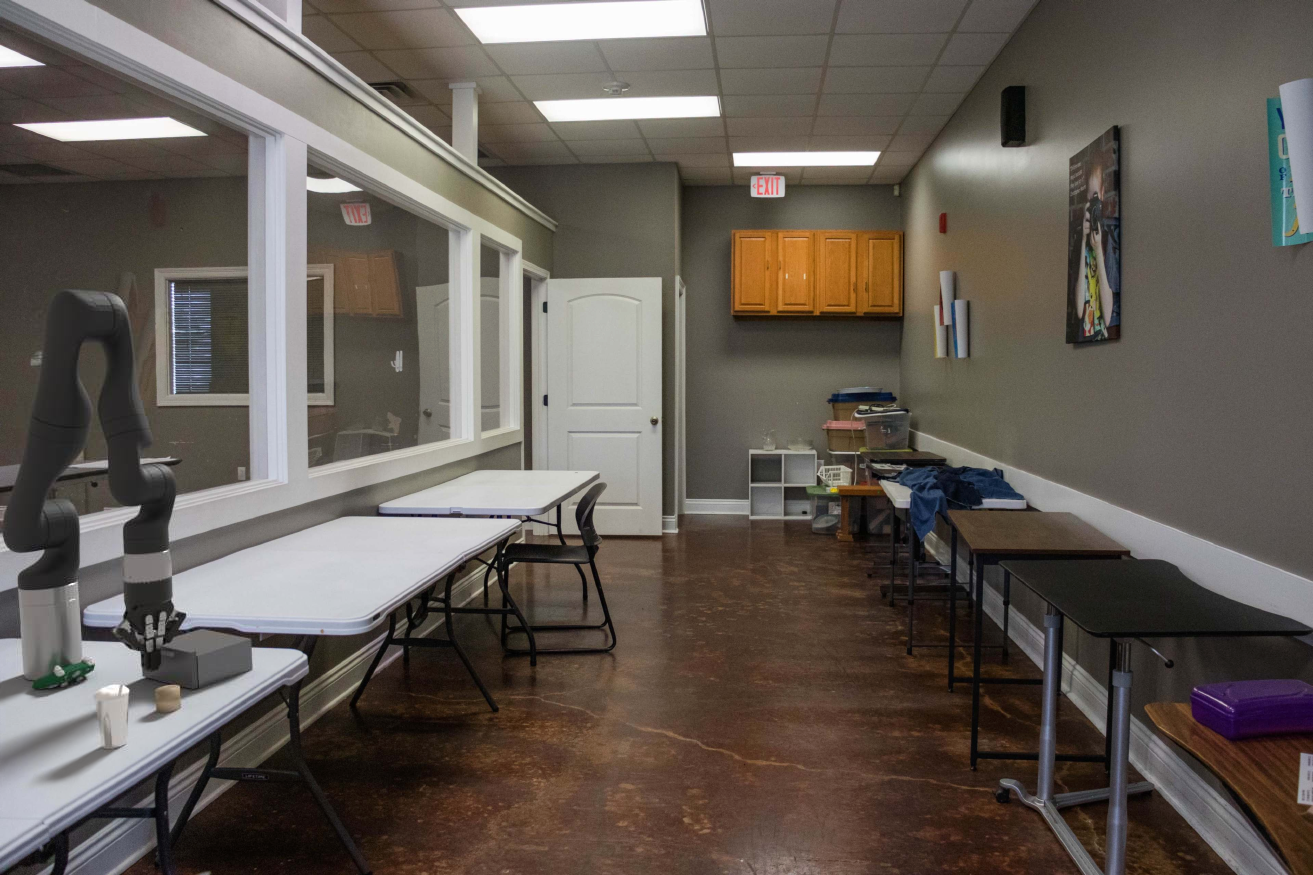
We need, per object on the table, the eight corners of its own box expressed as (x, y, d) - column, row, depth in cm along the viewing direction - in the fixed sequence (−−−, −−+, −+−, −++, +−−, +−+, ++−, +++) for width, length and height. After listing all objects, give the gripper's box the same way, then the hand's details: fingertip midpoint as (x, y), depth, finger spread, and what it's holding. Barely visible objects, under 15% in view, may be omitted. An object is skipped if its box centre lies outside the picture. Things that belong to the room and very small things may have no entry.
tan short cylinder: (151, 710, 142) (150, 690, 142) (172, 703, 146) (171, 683, 145) (165, 714, 141) (163, 694, 140) (185, 706, 144) (184, 686, 144)
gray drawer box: (203, 658, 169) (201, 627, 168) (252, 669, 162) (251, 637, 162) (148, 675, 159) (147, 643, 159) (199, 688, 152) (197, 654, 152)
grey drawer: (197, 658, 168) (195, 625, 167) (247, 669, 161) (245, 635, 161) (140, 677, 158) (138, 642, 157) (190, 689, 151) (188, 653, 150)
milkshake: (109, 754, 126) (105, 689, 125) (91, 746, 129) (87, 683, 128) (141, 743, 130) (137, 680, 129) (123, 735, 132) (119, 673, 132)
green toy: (40, 701, 152) (55, 681, 151) (28, 685, 153) (44, 665, 151) (88, 683, 161) (104, 664, 159) (77, 668, 162) (92, 649, 160)
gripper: (122, 585, 143) (126, 685, 145) (195, 570, 155) (199, 662, 156) (96, 581, 147) (101, 678, 148) (170, 566, 159) (174, 656, 160)
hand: (151, 670), depth 152 cm, fingers closed
